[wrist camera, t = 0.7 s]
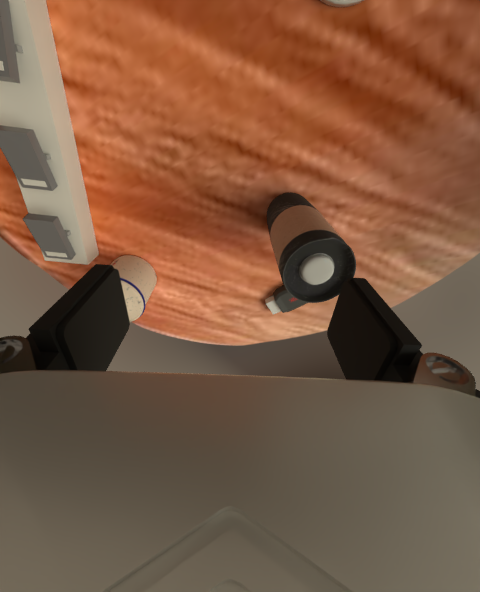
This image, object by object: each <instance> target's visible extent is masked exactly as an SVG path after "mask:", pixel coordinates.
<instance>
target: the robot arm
mask: <svg viewBox="0 0 480 592" xmlns="http://www.w3.org/2000/svg"><path fill="white" fill-rule="evenodd" d="M320 1H322V2H323V3H325V4H327V5H330V6H334V7H348V6H352V5H355V4H358V3H360V2H362V1H364V0H320ZM129 325H130V321H129V316H128V312H127V307H126V302H125V298H124V293H123V289H122V284H121V280H120V275H119V271H118V270H117V269H114V267H113V266H112V265H101V264H96V265H95V266H94V267H92V268H91V269H90V270H89V271H88V272H87V273H86V274H85V275H84V276H83V277H82V278H81V279H80V280H79V281H78V282H77V283H76V284H75V285H74V286H73V287H72V288H71V289H70V290H69V291H68V292H67V293H65V294H64V295H63V296H62V297H61V298H60V299H59V300H58V301H57V302H56V303H55V304H54V305H53V306H52V307H51V308H50V309H49V310H48V311H47V312H46V313H45V314H44V315H43V316H42V317H40V318H39V320H37V321H36V322H35V323H34V324H33V325H32V326H31V327H30V328H29V331H30V334H29V335H28V336H27V338H24V337H21V336H6V337H2V338H0V592H480V391H479V390H477V389H475V388H476V382H475V378H474V376H473V375H472V373H471V372H470V371H469V370H468V369H467V368H466V367H465V366H463V365H462V364H461V363H459V362H458V361H456V360H454V359H452V358H450V357H448V356H445V355H442V354H438V353H425V354H422V353H421V352H420V350H419V349H420V348H421V346H422V345H421V343H420V342H419V341H418V340H417V339H416V338H415V337H414V335H413V334H412V333H411V332H410V331H409V330H408V328H407V327H406V326H405V325H404V324H403V322H402V321H401V320H400V319H399V318H398V317H397V315H396V314H395V313H394V312H393V311H392V310H391V308H390V307H389V306H388V305H387V304H386V303H385V301H384V300H383V299H382V298H381V297H380V296H379V294H378V293H377V292H376V291H375V290H374V289H373V287H372V286H371V285H370V284H369V283H368V281H367V280H366V279H364V278H349V279H348V281H344V283H343V285H342V288H341V291H340V294H339V297H338V300H337V303H336V306H335V309H334V312H333V315H332V318H331V321H330V324H329V327H328V332H327V335H328V339H329V341H330V343H331V346H332V348H333V350H334V352H335V355H336V357H337V359H338V362H339V364H340V366H341V369H342V371H343V373H344V375H345V377H346V379H323V378H298V377H271V376H244V375H216V374H187V373H186V374H185V373H153V372H118V371H106V370H107V368H108V366H109V364H110V362H111V361H112V359H113V357H114V355H115V353H116V351H117V349H118V348H119V346H120V344H121V342H122V340H123V339H124V336H125V335H126V333H127V331H128V329H129Z"/></svg>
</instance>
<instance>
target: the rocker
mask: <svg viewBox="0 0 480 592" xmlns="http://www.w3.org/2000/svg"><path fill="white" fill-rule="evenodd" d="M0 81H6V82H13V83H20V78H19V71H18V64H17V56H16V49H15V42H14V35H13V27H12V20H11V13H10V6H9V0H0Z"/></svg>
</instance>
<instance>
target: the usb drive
mask: <svg viewBox="0 0 480 592" xmlns="http://www.w3.org/2000/svg"><path fill="white" fill-rule="evenodd" d="M265 302H266V305H267V306H268V308H269V309H270V310H271V312H272V313H273V315H274V314H276V313H278V312H280V311H282V312H283V313H284V312H289V311H292V310H294V309H296V308H298V307H300V306H302V305H304V304H306V303H309V302H304V301H300V300H298V299H296V298H294V297H293V296H292V295H290V294H289V293H288V291H287V290H286V288H285V286H284V285H283V286H281V287H279V288H278V289H276V291H275V292H274V293H273V296H271V297H269V298H267V299H265Z"/></svg>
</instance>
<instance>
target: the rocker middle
mask: <svg viewBox="0 0 480 592" xmlns="http://www.w3.org/2000/svg"><path fill="white" fill-rule="evenodd" d="M0 148H1V149H2V151H3V153H4V155H5V157H6V159H7V160H8V162H9V164H10V166H11V168H12V170H13V171H14V173H15V175H16V177H17V179H18V181H19V182H20V184H21V186H22V187H23V188H32V189H40V190H49V191H53V190H54V189H55V188H56V187H57V186H58V185H57V183H56V181H55V178H54V176H53V174H52V172H51V169H50V167H49V165H48V162H47V160H46V158H45V155H44V153H43V151H42V149H41V146H40V144H39V142H38V139H37V137H36V135H35V132H34V130H33V129H25V128H18V127H10V126H3V125H0Z"/></svg>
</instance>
